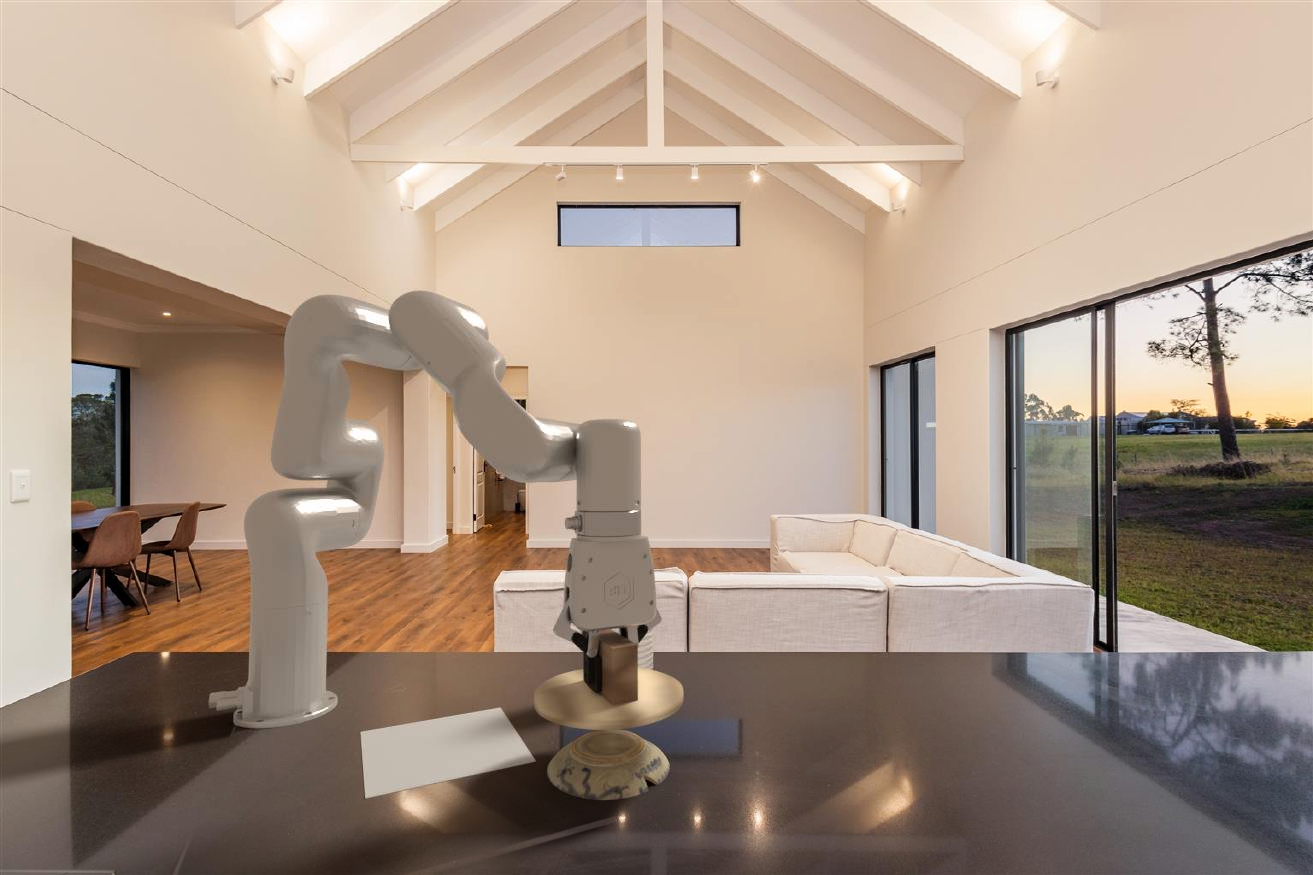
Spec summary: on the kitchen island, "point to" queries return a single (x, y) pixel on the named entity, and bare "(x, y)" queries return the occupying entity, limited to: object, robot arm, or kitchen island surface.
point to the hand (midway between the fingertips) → (609, 684)
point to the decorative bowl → (607, 765)
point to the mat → (439, 751)
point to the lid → (610, 692)
